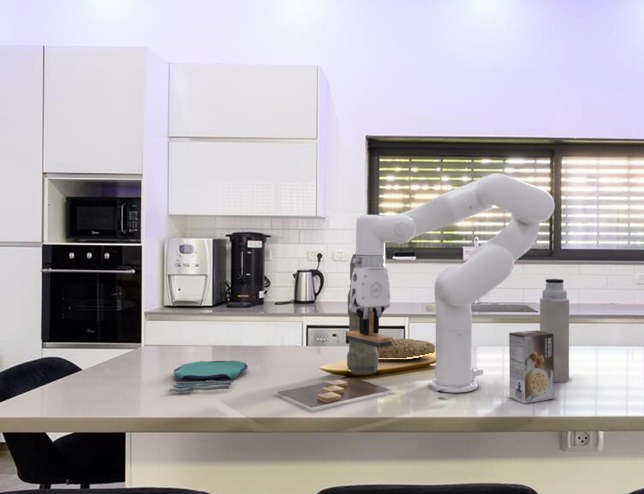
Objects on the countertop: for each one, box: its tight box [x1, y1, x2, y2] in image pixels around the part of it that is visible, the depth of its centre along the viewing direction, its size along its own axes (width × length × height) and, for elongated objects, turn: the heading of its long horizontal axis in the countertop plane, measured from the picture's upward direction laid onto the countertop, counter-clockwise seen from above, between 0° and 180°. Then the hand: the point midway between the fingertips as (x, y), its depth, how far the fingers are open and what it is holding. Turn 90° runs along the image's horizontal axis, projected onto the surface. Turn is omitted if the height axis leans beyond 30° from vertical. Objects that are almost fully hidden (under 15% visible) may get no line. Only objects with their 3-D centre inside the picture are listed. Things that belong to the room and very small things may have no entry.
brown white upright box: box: [508, 330, 555, 404], centre depth 136 cm, size 9×6×16 cm
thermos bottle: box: [539, 278, 570, 383], centre depth 156 cm, size 8×8×28 cm
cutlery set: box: [168, 359, 248, 393], centre depth 154 cm, size 20×30×2 cm, turn 9°
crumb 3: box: [317, 392, 341, 403], centre depth 131 cm, size 4×4×1 cm
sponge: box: [376, 337, 436, 361], centre depth 181 cm, size 13×8×20 cm
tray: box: [276, 376, 391, 409], centre depth 139 cm, size 23×17×1 cm
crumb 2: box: [322, 385, 344, 394], centre depth 137 cm, size 4×4×1 cm
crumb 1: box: [325, 379, 348, 387], centre depth 143 cm, size 4×4×1 cm
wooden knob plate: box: [345, 311, 394, 348], centre depth 144 cm, size 4×14×8 cm, turn 42°
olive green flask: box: [346, 252, 379, 375], centre depth 160 cm, size 9×12×35 cm
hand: (369, 332), depth 144 cm, fingers closed on wooden knob plate, 2 cm apart
